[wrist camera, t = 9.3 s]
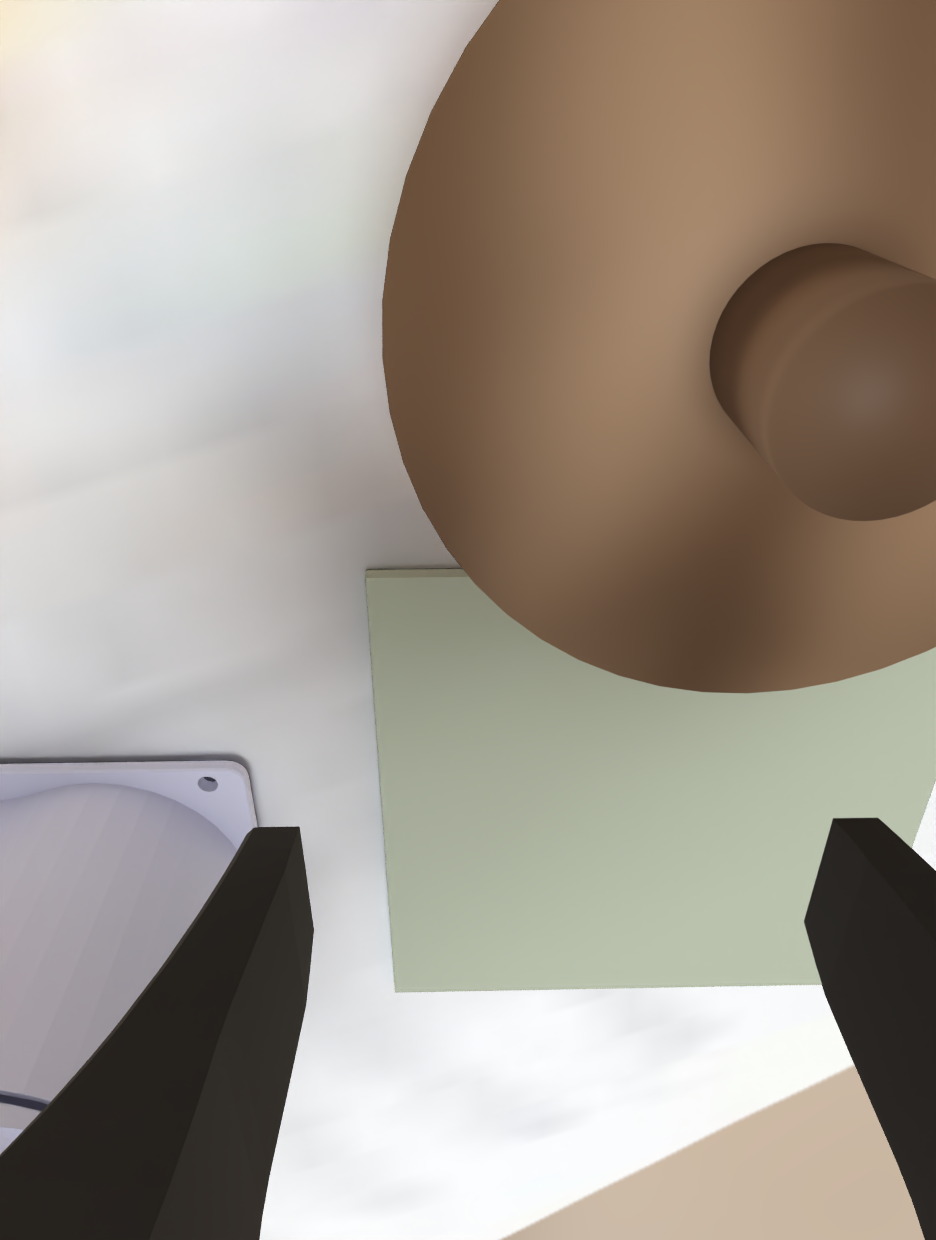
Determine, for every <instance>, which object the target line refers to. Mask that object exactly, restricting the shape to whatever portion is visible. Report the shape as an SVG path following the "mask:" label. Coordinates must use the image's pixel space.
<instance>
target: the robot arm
mask: <svg viewBox="0 0 936 1240" xmlns="http://www.w3.org/2000/svg"><path fill="white" fill-rule="evenodd" d="M206 776H207V777H212V778H213V779H215V780H216V781H214V782H211V781H207V780H205V779H204V778H203V777H206ZM804 924H805V928H806V931H807V935H808V938H809V942H810V946H811V949H812V953H813V956H814V960H815V963H816V967H817V970H818V973H819V976H820V980H821V983H822V986H823V989H824V993H825V996H826V998H827V1001H828V1003H829V1005H830V1008H831V1010H832V1013H833V1015H834V1017H835V1020H836V1022H837V1025H838V1027H839V1029H840V1032H841V1034H842V1036H843V1039H844V1041H845V1043H846V1046H847V1048H848V1050H849V1053H850V1055H851V1057H852V1060H853V1062H854V1064H855V1067H856V1069H857V1071H858V1074H859V1075H860V1078H861V1080H862V1083H863V1085H864V1087H865V1089H866V1092H867V1094H868V1096H869V1099H870V1101H871V1104H872V1106H873V1108H874V1110H875V1113H876V1115H877V1117H878V1120H879V1122H880V1124H881V1127H882V1129H883V1131H884V1134H885V1136H886V1138H887V1140H888V1142H889V1145H890V1147H891V1150H892V1152H893V1154H894V1156H895V1159H896V1161H897V1163H898V1166H899V1168H900V1171H901V1174H902V1176H903V1179H904V1181H905V1184H906V1187H907V1189H908V1192H909V1194H910V1197H911V1199H912V1202H913V1205H914V1208H915V1211H916V1214H917V1217H918V1220H919V1223H920V1226H921V1229H922V1232H923V1235H924V1238H925V1240H936V871H935V870H934V869H933V868H932V867H931V866H930V865H929V864H928V863H927V862H926V861H925V860H924V859H922V858H921V857H920V856H919V855H918V854H917V853H916V852H915V851H914V850H913V849H912V848H911V847H910V846H909V845H908V844H906V843H905V842H904V841H903V840H902V839H901V838H900V837H899V836H898V835H897V834H896V833H895V832H893V831H892V830H891V829H890V828H889V827H888V826H887V825H886V824H885V823H884V822H882V821H881V820H880V819H879V818H833V820H832V824H831V827H830V831H829V834H828V838H827V841H826V845H825V848H824V852H823V855H822V859H821V863H820V866H819V870H818V873H817V877H816V880H815V884H814V887H813V891H812V894H811V898H810V901H809V905H808V908H807V912H806V915H805V919H804ZM313 933H314V928H313V920H312V913H311V906H310V899H309V892H308V884H307V877H306V870H305V863H304V856H303V849H302V841H301V834H300V827H257V821H256V815H255V809H254V803H253V798H252V792H251V786H250V780H249V775H248V772H247V770H246V769H245V768H244V767H243V766H242V765H241V764H239V763H236V762H234V761H167V762H100V763H32V764H0V1240H259V1237H260V1229H261V1221H262V1215H263V1209H264V1203H265V1198H266V1192H267V1186H268V1181H269V1175H270V1171H271V1166H272V1162H273V1157H274V1152H275V1148H276V1143H277V1138H278V1134H279V1129H280V1125H281V1120H282V1115H283V1111H284V1106H285V1101H286V1097H287V1092H288V1088H289V1083H290V1078H291V1074H292V1069H293V1064H294V1060H295V1055H296V1050H297V1046H298V1041H299V1036H300V1031H301V1027H302V1022H303V1017H304V1012H305V1007H306V1000H307V992H308V983H309V974H310V964H311V954H312V943H313Z"/></svg>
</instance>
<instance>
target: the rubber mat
mask: <svg viewBox="0 0 936 1240" xmlns="http://www.w3.org/2000/svg"><path fill="white" fill-rule="evenodd" d="M365 581H366V595H367V608H368V622H369V636H370V650H371V664H372V678H373V691H374V705H375V719H376V733H377V747H378V761H379V774H380V788H381V802H382V816H383V830H384V844H385V857H386V871H387V885H388V899H389V913H390V927H391V940H392V954H393V968H394V982H395V992H444V991H498V990H552V989H606V988H660V987H714V986H769V985H822V983H821V980H820V976H819V973H818V970H817V967H816V963H815V960H814V956H813V953H812V949H811V946H810V942H809V938H808V935H807V931H806V928H805V924H804V919H805V915H806V912H807V908H808V905H809V901H810V898H811V894H812V891H813V887H814V884H815V880H816V877H817V873H818V870H819V866H820V863H821V859H822V855H823V852H824V848H825V845H826V841H827V838H828V834H829V831H830V827H831V824H832V820H833V818H879V819H880V820H881V821H882V822H884V823H885V824H886V825H887V826H888V827H889V828H890V829H891V830H892V831H893V832H895V833H896V834H897V835H898V836H899V837H900V838H901V839H902V840H903V841H904V842H905V843H906V844H908V845H909V846H910V847H911V848H912V846H913V843H914V840H915V837H916V834H917V832H918V829H919V826H920V823H921V820H922V817H923V815H924V812H925V809H926V806H927V803H928V801H929V798H930V795H931V792H932V789H933V786H934V784H935V781H936V647H935V648H933V649H931V650H929V651H926V652H924V653H921V654H919V655H916V656H914V657H911V658H909V659H906V660H903V661H901V662H898V663H896V664H893V665H891V666H888V667H885V668H883V669H880V670H876V671H873V672H869V673H866V674H862V675H859V676H855V677H852V678H848V679H845V680H841V681H838V682H833V683H827V684H822V685H816V686H811V687H805V688H800V689H794V690H785V691H772V692H759V693H711V692H697V691H690V690H683V689H676V688H668V687H661V686H657V685H653V684H649V683H645V682H641V681H637V680H634V679H630V678H626V677H622V676H618V675H616V674H613V673H611V672H608V671H605V670H603V669H600V668H598V667H595V666H593V665H590V664H588V663H585V662H583V661H580V660H578V659H576V658H574V657H572V656H570V655H569V654H567V653H565V652H563V651H561V650H560V649H558V648H556V647H554V646H552V645H550V644H549V643H547V642H545V641H543V640H541V639H540V638H538V637H537V636H536V635H534V634H533V633H532V632H530V631H529V630H528V629H526V628H525V627H523V626H522V625H521V624H519V623H518V622H517V621H515V620H514V619H512V618H511V617H510V616H508V615H507V614H506V613H505V612H504V611H503V610H502V609H501V608H499V607H498V606H497V605H496V604H495V603H494V602H493V601H492V600H491V599H490V598H489V597H488V596H487V595H486V594H485V593H484V592H483V591H482V590H481V589H480V588H479V587H478V586H477V585H476V584H474V582H473V581H472V580H471V579H470V577H469V576H468V575H467V574H466V572H465V571H464V570H463V569H403V570H367V571H366V577H365Z"/></svg>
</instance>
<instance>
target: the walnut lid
mask: <svg viewBox="0 0 936 1240" xmlns="http://www.w3.org/2000/svg"><path fill="white" fill-rule="evenodd" d="M382 330H383V365H384V373H385V380H386V388H387V395H388V403H389V411H390V415H391V419H392V423H393V426H394V430H395V434H396V437H397V441H398V445H399V448H400V452H401V456H402V460H403V463H404V465H405V468H406V470H407V472H408V475H409V477H410V480H411V482H412V484H413V487H414V489H415V491H416V494H417V496H418V499H419V501H420V503H421V506H422V508H423V510H424V511H425V513H426V515H427V516H428V518H429V520H430V521H431V523H432V525H433V526H434V528H435V530H436V532H437V533H438V535H439V537H440V538H441V540H442V542H443V543H444V545H445V547H446V548H447V550H448V551H449V552H450V553H451V555H452V556H453V557H454V558H455V560H456V561H457V562H458V563H459V565H460V566H461V567H462V568H463V570H464V571H465V572H466V574H467V575H468V576H469V577H470V579H471V580H472V581H473V582H474V584H476V585H477V586H478V587H479V588H480V589H481V590H482V591H483V592H484V593H485V594H486V595H487V596H488V597H489V598H490V599H491V600H492V601H493V602H494V603H495V604H496V605H497V606H498V607H499V608H501V609H502V610H503V611H504V612H505V613H506V614H507V615H508V616H510V617H511V618H512V619H514V620H515V621H517V622H518V623H519V624H521V625H522V626H523V627H525V628H526V629H528V630H529V631H530V632H532V633H533V634H534V635H536V636H537V637H538V638H540V639H541V640H543V641H545V642H547V643H549V644H550V645H552V646H554V647H556V648H558V649H560V650H561V651H563V652H565V653H567V654H569V655H570V656H572V657H574V658H576V659H578V660H580V661H583V662H585V663H588V664H590V665H593V666H595V667H598V668H600V669H603V670H605V671H608V672H611V673H613V674H616V675H618V676H622V677H626V678H630V679H634V680H637V681H641V682H645V683H649V684H653V685H657V686H661V687H668V688H676V689H683V690H690V691H697V692H711V693H759V692H772V691H785V690H794V689H800V688H805V687H811V686H816V685H822V684H827V683H833V682H838V681H841V680H845V679H848V678H852V677H855V676H859V675H862V674H866V673H869V672H873V671H876V670H880V669H883V668H885V667H888V666H891V665H893V664H896V663H898V662H901V661H903V660H906V659H909V658H911V657H914V656H916V655H919V654H921V653H924V652H926V651H929V650H931V649H933V648H935V647H936V0H499V1H498V3H497V4H496V6H495V7H494V8H493V10H492V11H491V13H490V14H489V15H488V17H487V18H486V20H485V21H484V23H483V24H482V25H481V27H480V28H479V30H478V31H477V32H476V34H475V35H474V37H473V38H472V39H471V41H470V42H469V44H468V45H467V46H466V48H465V50H464V52H463V54H462V55H461V57H460V59H459V61H458V63H457V65H456V67H455V68H454V70H453V72H452V74H451V76H450V78H449V79H448V81H447V83H446V85H445V87H444V89H443V91H442V92H441V94H440V96H439V98H438V100H437V102H436V104H435V105H434V107H433V109H432V111H431V113H430V116H429V119H428V121H427V124H426V126H425V129H424V131H423V134H422V136H421V139H420V142H419V144H418V147H417V149H416V152H415V154H414V157H413V160H412V162H411V165H410V167H409V170H408V172H407V175H406V178H405V182H404V186H403V190H402V194H401V198H400V202H399V206H398V210H397V214H396V218H395V222H394V226H393V229H392V233H391V237H390V244H389V252H388V260H387V268H386V276H385V284H384V292H383V299H382Z"/></svg>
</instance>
